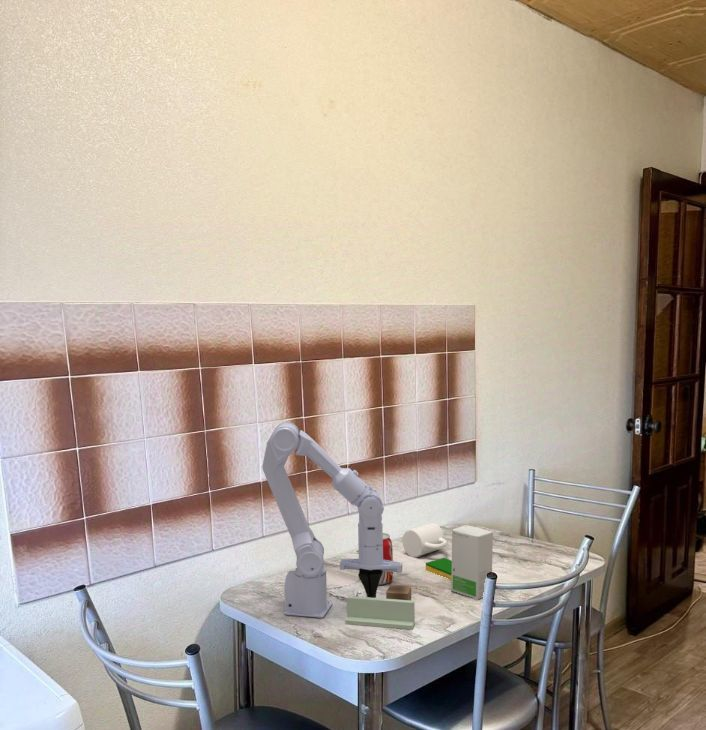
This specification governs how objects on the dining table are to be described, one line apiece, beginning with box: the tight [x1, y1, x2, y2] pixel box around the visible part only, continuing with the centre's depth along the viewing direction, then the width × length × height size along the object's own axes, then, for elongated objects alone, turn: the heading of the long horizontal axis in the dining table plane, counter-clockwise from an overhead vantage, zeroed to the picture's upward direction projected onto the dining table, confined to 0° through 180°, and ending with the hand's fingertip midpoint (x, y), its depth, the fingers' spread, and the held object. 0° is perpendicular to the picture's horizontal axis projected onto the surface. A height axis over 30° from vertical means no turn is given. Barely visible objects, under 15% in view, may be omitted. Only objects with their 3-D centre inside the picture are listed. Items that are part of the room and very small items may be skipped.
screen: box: [344, 595, 416, 630], centre depth 138 cm, size 15×3×5 cm, turn 77°
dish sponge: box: [425, 557, 452, 581], centre depth 168 cm, size 7×14×2 cm, turn 35°
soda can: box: [378, 532, 394, 586], centre depth 164 cm, size 7×7×12 cm
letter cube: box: [385, 584, 412, 601], centre depth 145 cm, size 5×5×5 cm
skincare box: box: [450, 524, 494, 600], centre depth 155 cm, size 8×7×16 cm
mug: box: [402, 522, 448, 558], centre depth 185 cm, size 12×10×8 cm
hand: (371, 601), depth 147 cm, fingers closed
